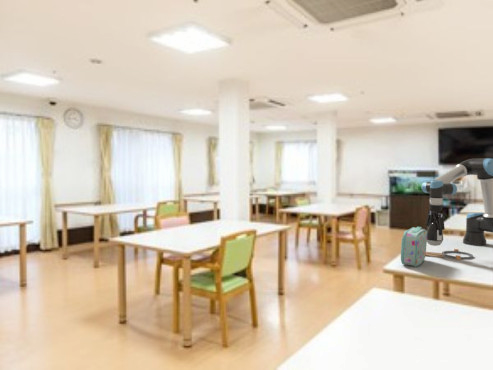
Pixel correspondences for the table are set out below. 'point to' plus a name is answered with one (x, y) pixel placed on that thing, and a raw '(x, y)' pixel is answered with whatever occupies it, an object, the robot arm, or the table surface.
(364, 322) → the table surface
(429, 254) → the coaster
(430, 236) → the black rounded piece
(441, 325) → the table surface
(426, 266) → the table surface
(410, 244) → the lunch box
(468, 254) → the collar
